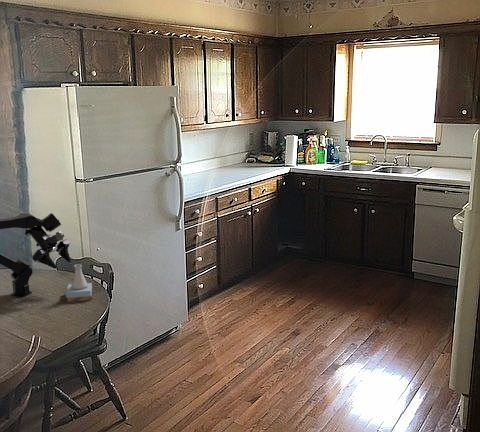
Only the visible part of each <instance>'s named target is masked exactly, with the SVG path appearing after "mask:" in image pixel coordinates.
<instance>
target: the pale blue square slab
mask: <svg viewBox="0 0 480 432" xmlns="http://www.w3.org/2000/svg"><path fill="white" fill-rule="evenodd" d="M87 284H88V285H87V287H86V288H84V289H71V285H72V283H68V285H67V288H66V291H65V298H66V299H67V298H72V297H86V296H91V291H92V292H93V283H92V282H87Z"/></svg>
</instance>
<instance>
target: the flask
mask: <svg viewBox="0 0 480 432" xmlns="http://www.w3.org/2000/svg"><path fill="white" fill-rule="evenodd" d="M73 267H74V275H73V279H72V281H71V282H72V283H71V284H72V285H71V289H84V288H86V287H87V285H88V284H87V283H88V282H87V280H86V278H85V275H84V274H83V271H82V264H81V263H80V264H74V266H73Z"/></svg>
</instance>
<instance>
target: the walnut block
mask: <svg viewBox="0 0 480 432" xmlns="http://www.w3.org/2000/svg"><path fill="white" fill-rule="evenodd" d="M66 299H67V303H71V302H72V303H73V302H81V301H82V302H83V301H84V302H85V301H92V300H93V290H92V291H91V296H86V297H72V298H66Z"/></svg>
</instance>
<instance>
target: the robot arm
mask: <svg viewBox="0 0 480 432" xmlns="http://www.w3.org/2000/svg"><path fill="white" fill-rule="evenodd" d="M60 226H62V224H61V222H60V220H59V219H58V218H57V217H56V216H55V214H54V213H53V212H50V213H49V214H48V215H47V216H45V217H44V218H42V219H40V217H39V218H38V217H36V216H34V215H33V214H31V213H28V212H27V213H22V214H18V215H16V216H14V217H8V218H1V219H0V230H4V229H6V230H7V229H14V228H15V229H16V228H18V229H25V230H24V231H25V232H24V236H25V238H28V237H29V236H31V237H32V239H33V240H34V241H35V243H36V244H35V246H36V247H39V248H38V249H37V250H36V251H35V252H34V254H33V255H31V256H32V260H33V262H34V263H41V264H43V265H46V266H48V267H49V268H53V269H55V270H56V269H57V268H58V267H57V265H56V263H55V262H54V261H53V259H52V258H51V256H50V253H54V252H57V253H58V255H59V256H60V257H61V258H62V259H64V260H65V261H66V262H67V263H71V262H72V260H71V256H70V254H69V247H70V244H71V242H70V241H69V240H68V239H64V238H65V235H64V233H63V232H62V231H61V230H59V231H57V232H55V234H53V235H52V234H47V232H49V233H52V232H53V231H54V230H56V229H58V228H59V227H60ZM0 265H1V266H3V267H6V268H7V269H9V270H10V271H12V273H11V274H10V277H11V278H12V291H13V292H12V293H10V296H13V297H18V298H23V297H25V296H28V295H30V294H32V293H33V291H32V290H30V283H29V280H30V277H32V276H33V272H34V271H33V268H31V265H30V263H28V262H27V261H26V260H23V259H21V258H19V257H17V260H16V259H12V258H10V257H8V256H6V255H5V254H3V253H0Z"/></svg>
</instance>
